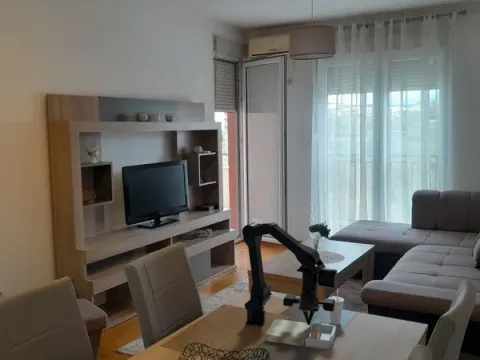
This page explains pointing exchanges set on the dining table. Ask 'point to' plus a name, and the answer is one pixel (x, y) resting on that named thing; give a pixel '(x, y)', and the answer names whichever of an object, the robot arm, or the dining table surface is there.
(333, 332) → the tray
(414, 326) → the dining table surface
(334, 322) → the smoothie
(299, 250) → the robot arm
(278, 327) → the board
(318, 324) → the tile back
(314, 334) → the tile front
